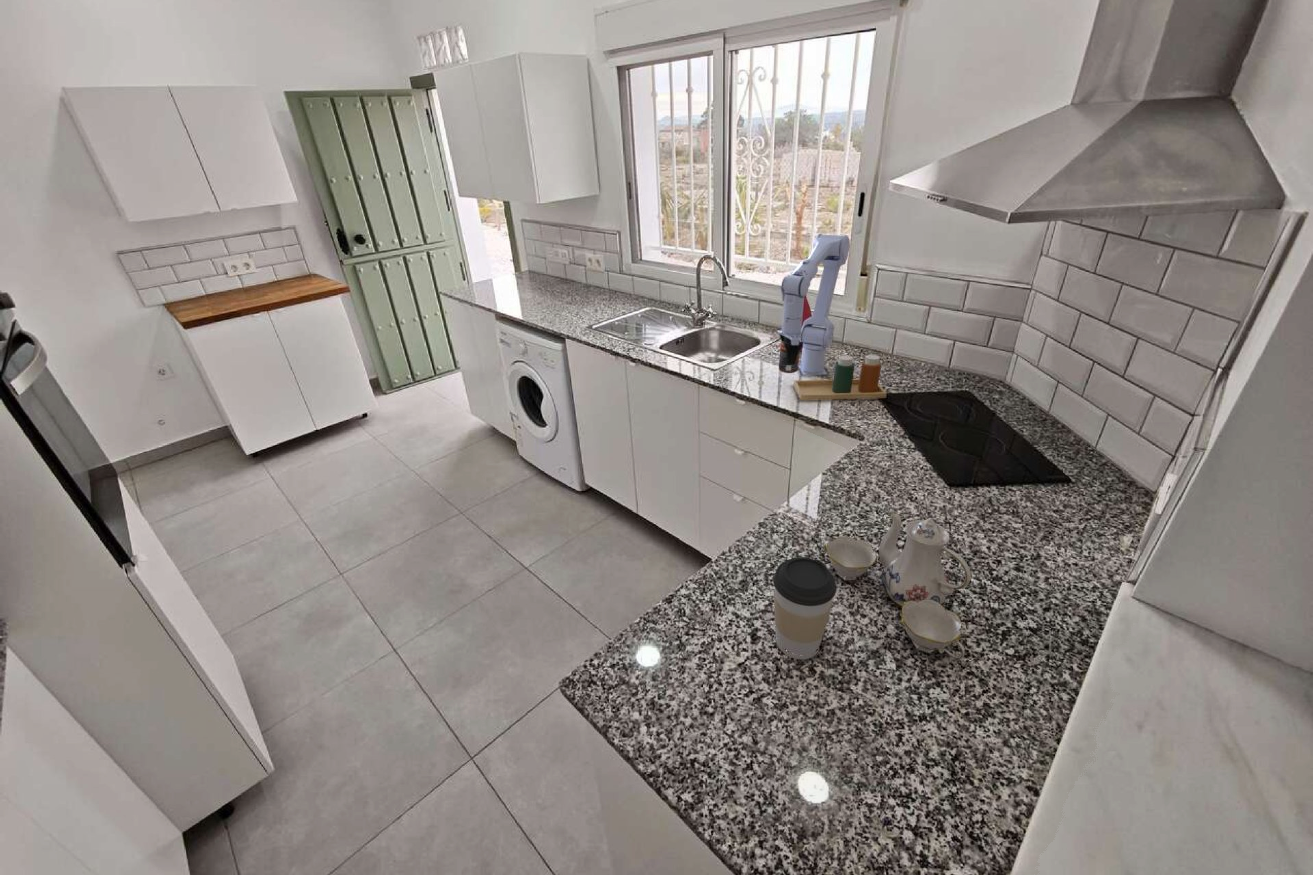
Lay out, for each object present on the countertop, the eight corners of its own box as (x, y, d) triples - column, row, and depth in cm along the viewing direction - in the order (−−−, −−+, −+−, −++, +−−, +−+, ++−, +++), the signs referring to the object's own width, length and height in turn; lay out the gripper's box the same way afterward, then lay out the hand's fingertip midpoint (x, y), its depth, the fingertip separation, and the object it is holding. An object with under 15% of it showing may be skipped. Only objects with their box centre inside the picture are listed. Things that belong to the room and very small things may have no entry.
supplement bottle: (792, 375, 164) (795, 339, 159) (775, 371, 168) (777, 336, 162) (801, 369, 168) (804, 334, 163) (783, 365, 172) (786, 331, 166)
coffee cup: (790, 674, 81) (799, 601, 73) (757, 630, 88) (762, 560, 81) (839, 652, 84) (851, 580, 76) (803, 612, 91) (811, 543, 84)
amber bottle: (855, 387, 170) (860, 354, 165) (873, 386, 170) (879, 353, 165) (860, 394, 165) (866, 360, 160) (879, 393, 165) (885, 360, 160)
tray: (793, 386, 174) (793, 380, 173) (873, 384, 173) (874, 378, 172) (800, 401, 164) (800, 395, 163) (885, 399, 163) (886, 393, 162)
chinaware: (806, 574, 101) (807, 505, 92) (869, 536, 107) (876, 468, 98) (940, 687, 79) (958, 611, 71) (1010, 632, 85) (1034, 556, 77)
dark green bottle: (830, 387, 171) (834, 354, 165) (848, 387, 170) (852, 354, 165) (834, 394, 166) (838, 361, 160) (853, 394, 165) (857, 360, 160)
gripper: (775, 310, 166) (772, 352, 173) (782, 324, 154) (779, 368, 160) (798, 309, 166) (794, 351, 172) (807, 323, 153) (803, 368, 160)
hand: (789, 360), depth 166 cm, fingers closed on supplement bottle, 6 cm apart
